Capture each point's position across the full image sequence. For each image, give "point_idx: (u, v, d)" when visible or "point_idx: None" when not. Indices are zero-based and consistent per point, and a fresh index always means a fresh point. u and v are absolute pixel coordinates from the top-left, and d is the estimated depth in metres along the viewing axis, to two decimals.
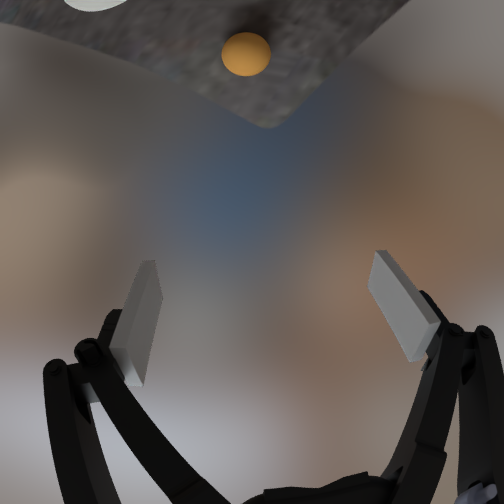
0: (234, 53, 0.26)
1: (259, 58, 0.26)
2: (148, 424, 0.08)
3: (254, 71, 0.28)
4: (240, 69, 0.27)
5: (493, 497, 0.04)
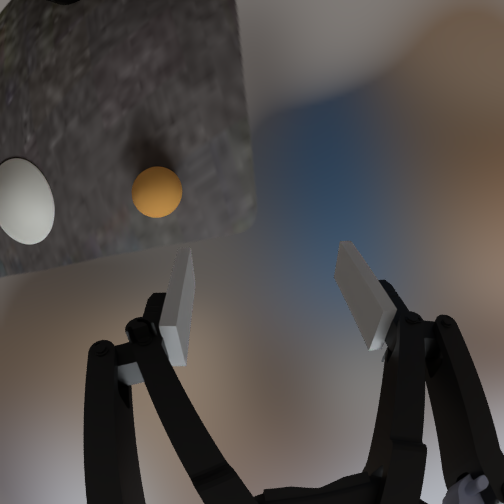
0: (140, 205, 0.29)
1: (159, 192, 0.28)
2: (187, 407, 0.09)
3: (170, 204, 0.29)
4: (158, 213, 0.29)
5: (486, 487, 0.04)
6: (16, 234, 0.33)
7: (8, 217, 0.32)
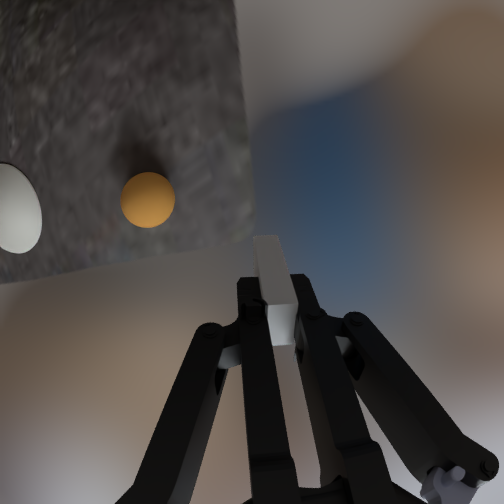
0: (129, 215, 0.26)
1: (149, 201, 0.25)
2: (274, 392, 0.09)
3: (162, 213, 0.27)
4: (148, 223, 0.27)
5: (464, 475, 0.05)
6: (4, 243, 0.31)
7: None
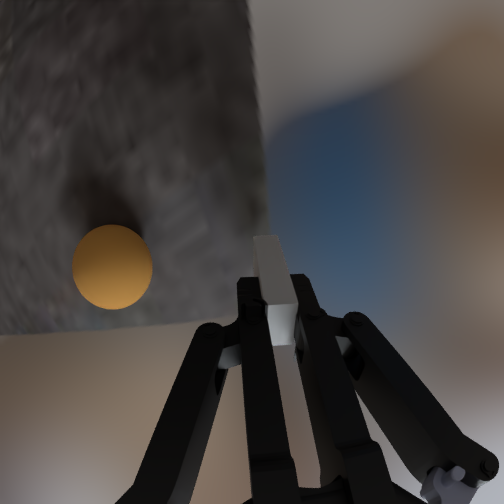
0: (84, 295, 0.16)
1: (110, 279, 0.15)
2: (274, 392, 0.09)
3: (132, 294, 0.17)
4: (114, 307, 0.17)
5: (464, 475, 0.05)
6: None
7: None
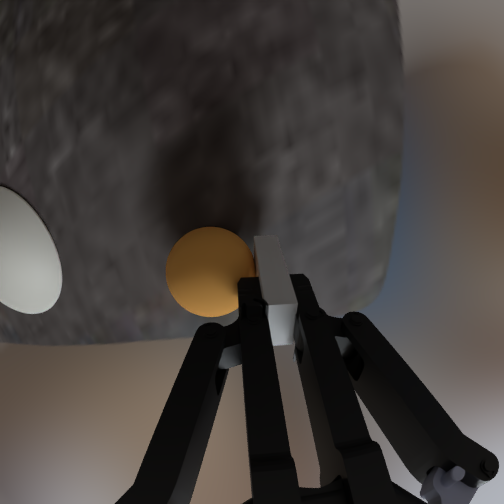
0: None
1: (191, 287, 0.16)
2: (275, 392, 0.09)
3: (212, 310, 0.16)
4: (192, 312, 0.17)
5: (464, 475, 0.05)
6: (5, 297, 0.21)
7: None
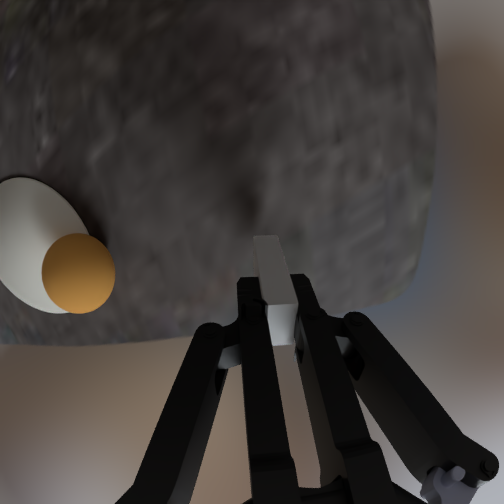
0: (83, 300, 0.16)
1: (105, 265, 0.17)
2: (274, 392, 0.09)
3: (114, 277, 0.19)
4: (106, 298, 0.18)
5: (464, 475, 0.05)
6: (29, 297, 0.22)
7: (14, 272, 0.20)
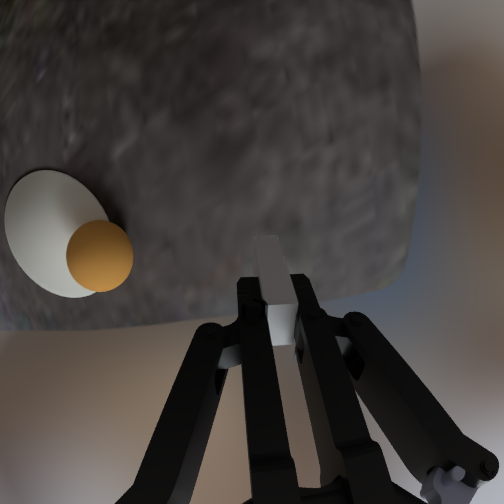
0: (105, 278, 0.19)
1: (125, 248, 0.20)
2: (274, 392, 0.09)
3: (132, 260, 0.22)
4: (124, 278, 0.21)
5: (464, 475, 0.05)
6: (48, 282, 0.25)
7: (35, 258, 0.23)
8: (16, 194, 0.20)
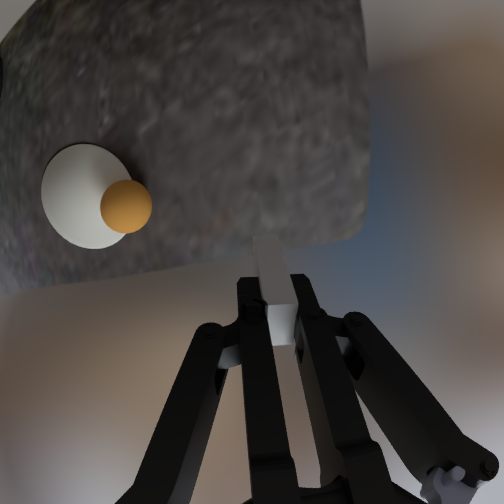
0: (132, 219, 0.26)
1: (147, 198, 0.28)
2: (274, 392, 0.09)
3: (151, 209, 0.29)
4: (145, 222, 0.28)
5: (464, 475, 0.05)
6: (75, 237, 0.32)
7: (66, 216, 0.31)
8: (55, 163, 0.27)
